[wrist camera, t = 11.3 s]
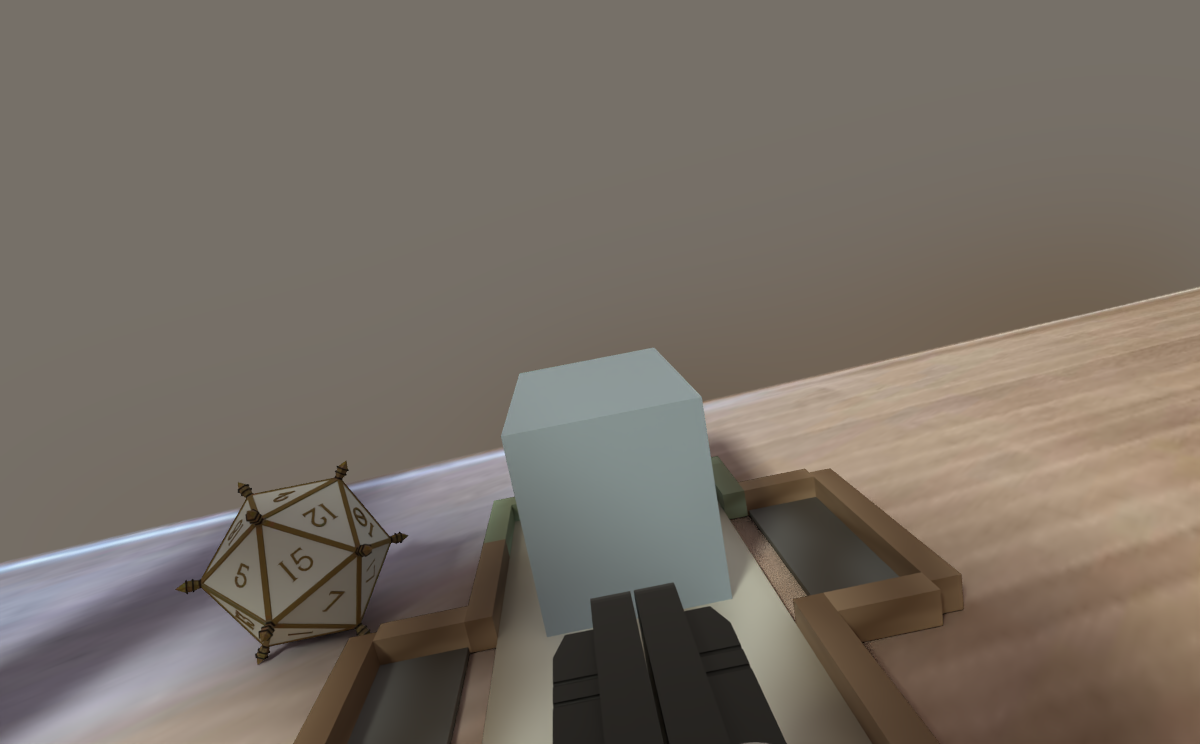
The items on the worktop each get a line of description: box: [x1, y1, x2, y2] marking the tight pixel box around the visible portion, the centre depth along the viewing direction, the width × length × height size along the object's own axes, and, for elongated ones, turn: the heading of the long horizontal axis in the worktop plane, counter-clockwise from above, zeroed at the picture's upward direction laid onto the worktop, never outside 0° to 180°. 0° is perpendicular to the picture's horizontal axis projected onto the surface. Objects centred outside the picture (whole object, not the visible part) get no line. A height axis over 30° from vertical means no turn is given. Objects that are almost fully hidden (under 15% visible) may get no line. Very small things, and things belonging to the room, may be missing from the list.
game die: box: [176, 461, 408, 664], centre depth 29 cm, size 9×8×10 cm
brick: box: [501, 348, 732, 637], centre depth 31 cm, size 8×12×9 cm, turn 4°
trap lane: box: [293, 456, 964, 744], centre depth 24 cm, size 25×30×2 cm
